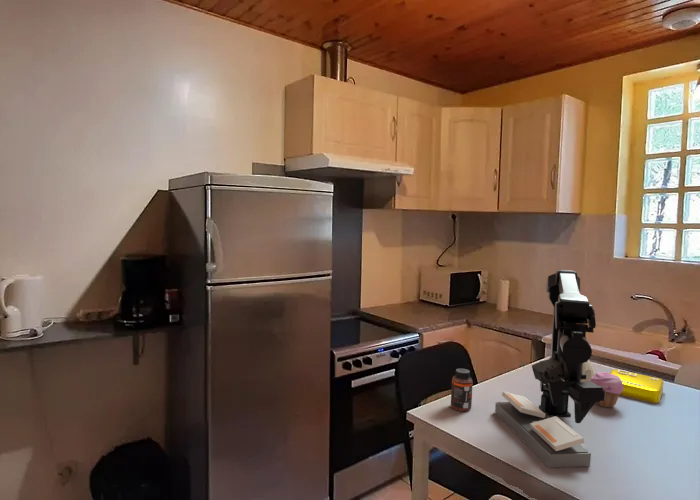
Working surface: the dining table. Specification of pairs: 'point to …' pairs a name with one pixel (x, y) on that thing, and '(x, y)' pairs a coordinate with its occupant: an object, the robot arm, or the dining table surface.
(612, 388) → the cupcake
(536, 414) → the rocker
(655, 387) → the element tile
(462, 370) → the supplement bottle
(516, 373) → the dining table surface
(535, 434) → the grey switch panel
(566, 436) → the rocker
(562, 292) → the robot arm
